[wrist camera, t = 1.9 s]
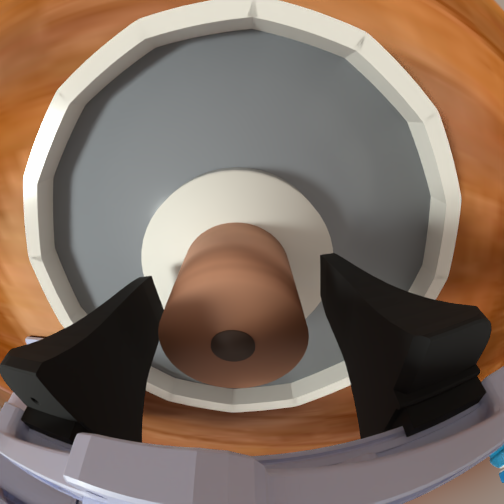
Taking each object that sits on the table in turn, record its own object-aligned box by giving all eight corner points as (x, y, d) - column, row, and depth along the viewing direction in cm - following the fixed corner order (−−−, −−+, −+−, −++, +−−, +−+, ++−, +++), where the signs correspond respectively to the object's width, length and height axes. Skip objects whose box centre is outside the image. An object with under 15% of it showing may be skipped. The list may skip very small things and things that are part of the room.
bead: (291, 307, 13) (308, 381, 9) (197, 317, 13) (183, 391, 9) (284, 215, 11) (308, 272, 7) (172, 231, 11) (135, 292, 7)
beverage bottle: (474, 404, 29) (509, 481, 11) (504, 382, 28) (541, 452, 10) (463, 421, 33) (492, 490, 15) (492, 401, 32) (523, 465, 14)
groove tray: (401, 357, 19) (412, 378, 17) (127, 387, 20) (120, 408, 18) (421, 32, 9) (446, 23, 7) (20, 100, 10) (-6, 102, 7)
